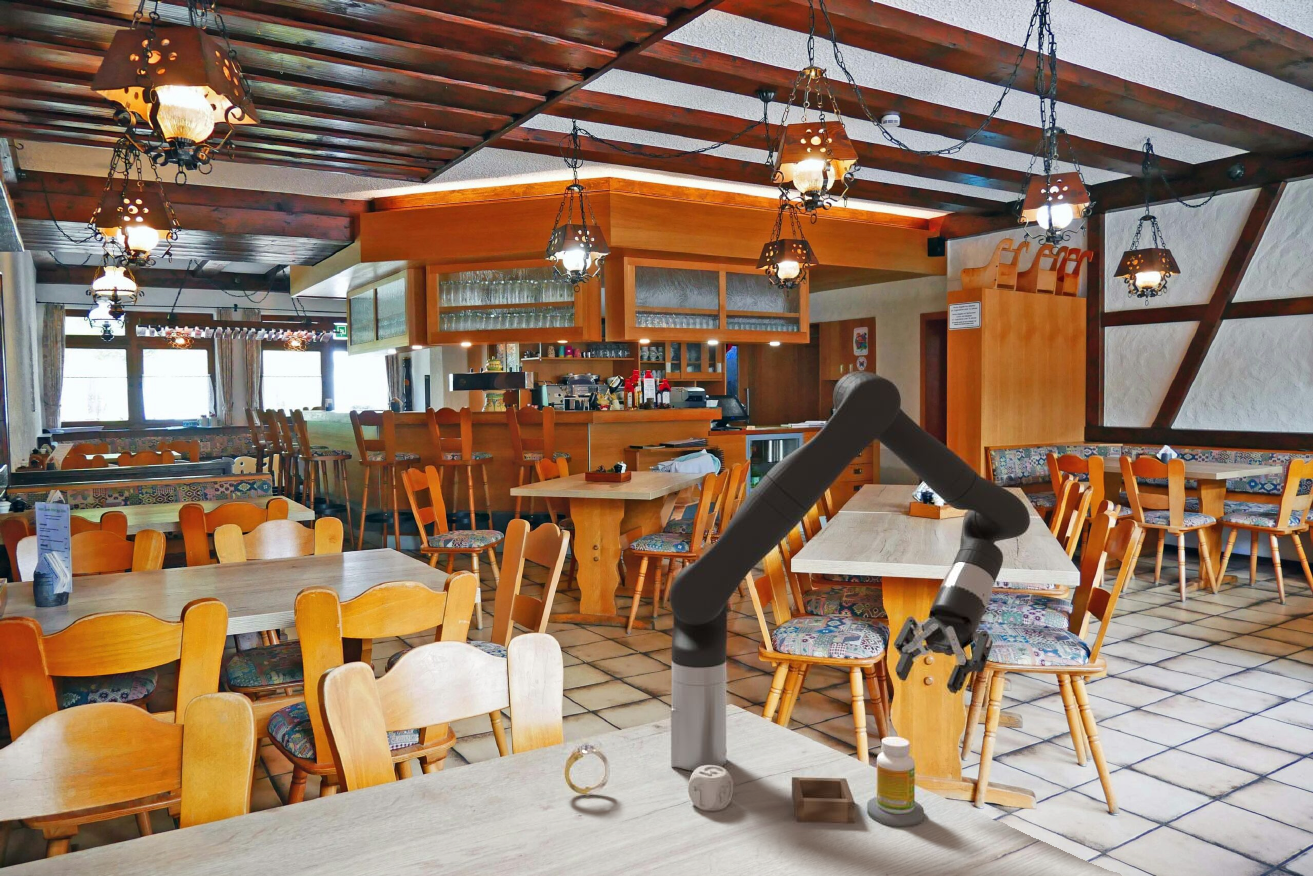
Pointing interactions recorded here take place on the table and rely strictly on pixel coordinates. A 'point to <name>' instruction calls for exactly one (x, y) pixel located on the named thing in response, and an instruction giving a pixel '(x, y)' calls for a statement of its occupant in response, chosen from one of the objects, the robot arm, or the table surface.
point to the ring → (581, 751)
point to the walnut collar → (823, 800)
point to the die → (710, 787)
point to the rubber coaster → (895, 815)
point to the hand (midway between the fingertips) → (925, 684)
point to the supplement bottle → (895, 776)
